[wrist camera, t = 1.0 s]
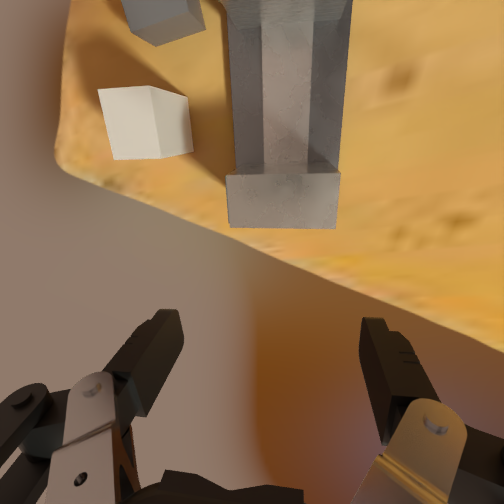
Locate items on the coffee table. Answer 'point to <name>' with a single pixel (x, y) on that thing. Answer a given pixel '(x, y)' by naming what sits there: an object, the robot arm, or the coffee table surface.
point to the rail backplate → (286, 110)
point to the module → (146, 122)
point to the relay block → (163, 19)
